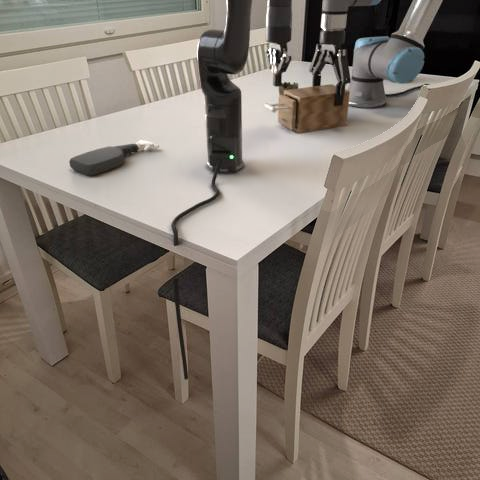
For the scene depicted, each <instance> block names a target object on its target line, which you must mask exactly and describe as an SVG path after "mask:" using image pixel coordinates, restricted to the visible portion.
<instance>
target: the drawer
mask: <svg viewBox="0 0 480 480" xmlns="http://www.w3.org/2000/svg"><path fill="white" fill-rule="evenodd" d="M298 104H299V100H297V99H295V98H293V97H291V96H289V95H287V96H284V95H282V94H280V95H279V94H278V103H271V104H270V103H268V102H267V103H265V104H264V108H265V109H267V110H268V111H270V112H272V113H274V114H275V113H276V112H277V123H278V124H280V125H281V126H284V127H285V128H287V129H288V130H290V131H294V130H295V126H296V127H297V124H298Z"/></svg>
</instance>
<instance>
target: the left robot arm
mask: <svg viewBox="0 0 480 480" xmlns="http://www.w3.org/2000/svg"><path fill="white" fill-rule="evenodd" d="M225 2H226V18H225V26H224V27H225V28H224V29H213V28H212V29H207V30H205V31H204V32H203V33H202V34H201V35H200V37H199V39H198V42H197V49H196V57H197V59H196V60H197V68H198V76H199V85H200V90H201V92H202V94H203V99H204V100H203V101H204V116H205V117H204V118H205V133H206V134H205V135H206V151H207V152H206V153H207V168H208V169H209V170H211V172H212V173H213V175H212V179H211V188H212V190H213V192H215V193H214V195H213V196H211V197H210V198H209V197H208V198H207V199H205V200H202V201H200V202H198V203H196V204H194V205H193V206H190V207H189V208H188V209H185V210H184V211H182V212H181V213H179V214H177V216H175V218H174V219H173V220H172V222H171V225H170V228H171V230H172V234H173V246H174V247H177V246H179V232H178V229H177V224H178V222H179V221H180V220H181V219H182V218H183V217H185V216H187V215H188V214H190V213H192V212H194V211H196V210H198V209H199V208H201V207H203V206H205V205H208V204H210V203H212V202H214V201H215V200H217V199H218V197H219V196H220V190H219V189H218V188H217V186H216V181H217V177H218V174H219V173H237V171H239V170H240V169H242V168H243V166H244V159H243V114H242V113H243V109H242V108H243V106H242V105H243V104H242V103H243V102H242V101H243V100H242V99H243V98H242V96H243V95H242V90H241V88H240V87H239V86H238V85H236V83H234V82H233V81H232V80H231V79H230V77H229V75H233V76H234V75H238V74H240V73H241V72H242V71H243V70H244V68H245V67H246V64H247V61H248V57H249V51H250V39H251V38H250V37H251V20H252V8H253V7H252V5H253V0H225ZM292 27H293V0H266V10H265V35H264V36H265V42H267V43H269V44H268V50H265V51H264V55H265V58H266V62H267V66H268V69H269V70H271V73H272V86H274V87H276V88H277V87H278V86H281V83H283V82H282V80H283V79H282V77H283V73H286V72H287V70H288V68H289V66H290V64H291V61H292V59H293V57H292V56H291V55H289V54H288V43H290V42H291V41H292V31H293V30H292V29H293V28H292ZM278 88H279V87H278ZM172 281H173V294H174V295H173V296H174V307H175V316H176V317H175V318H176V322H177V323H176V324H177V332H178V339H179V345H180V354H181V363H182V371H183V379H184V380H185V381H186V380H189V373H188V371H189V370H188V364H187V355H186V354H187V353H186V347H185V340H184V332H183V324H182V314H181V304H180V290H179V278H173V280H172Z"/></svg>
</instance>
